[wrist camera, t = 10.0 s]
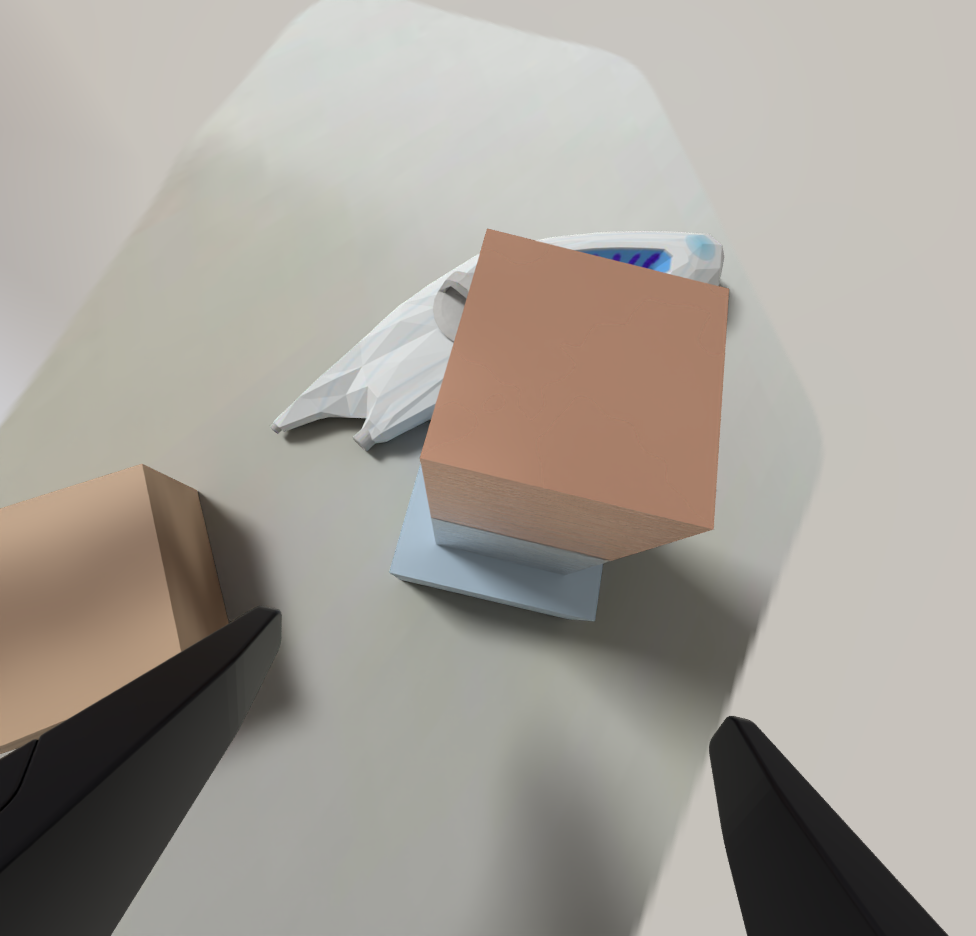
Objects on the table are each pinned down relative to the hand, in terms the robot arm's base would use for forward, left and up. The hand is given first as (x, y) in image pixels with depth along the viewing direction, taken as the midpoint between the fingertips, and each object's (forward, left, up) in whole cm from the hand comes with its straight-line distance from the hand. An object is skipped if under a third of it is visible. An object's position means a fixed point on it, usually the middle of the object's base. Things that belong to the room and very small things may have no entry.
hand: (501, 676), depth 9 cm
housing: (+5, -2, -6) cm, 8 cm away
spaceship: (+13, -4, -10) cm, 17 cm away
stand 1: (+4, +13, -9) cm, 16 cm away
